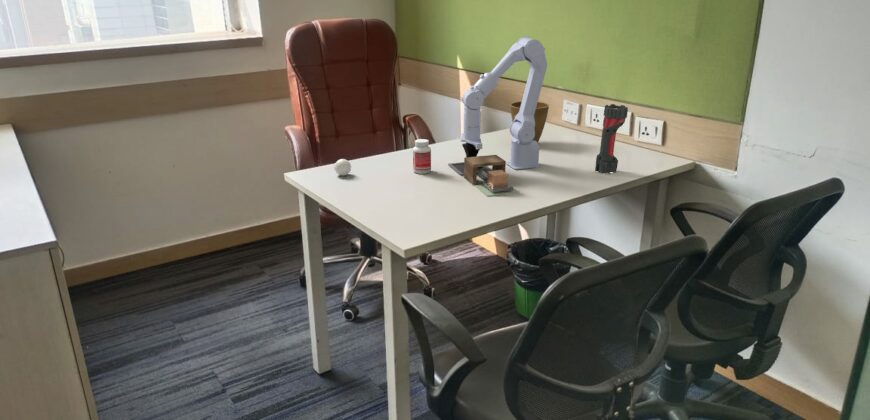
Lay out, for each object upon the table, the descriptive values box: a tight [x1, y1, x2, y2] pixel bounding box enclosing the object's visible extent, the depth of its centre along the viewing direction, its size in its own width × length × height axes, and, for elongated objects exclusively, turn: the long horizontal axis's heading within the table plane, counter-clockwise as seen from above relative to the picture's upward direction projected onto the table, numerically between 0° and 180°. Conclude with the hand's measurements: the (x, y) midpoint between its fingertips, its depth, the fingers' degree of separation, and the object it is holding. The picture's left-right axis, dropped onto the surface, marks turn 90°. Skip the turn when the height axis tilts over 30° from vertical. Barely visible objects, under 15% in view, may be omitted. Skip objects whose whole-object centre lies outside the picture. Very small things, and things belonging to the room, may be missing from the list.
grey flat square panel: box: [447, 161, 492, 177], centre depth 226 cm, size 12×13×1 cm
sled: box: [464, 155, 514, 192], centre depth 212 cm, size 7×26×5 cm, turn 19°
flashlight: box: [594, 103, 629, 174], centre depth 219 cm, size 8×8×23 cm
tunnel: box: [463, 154, 507, 186], centre depth 214 cm, size 11×8×7 cm
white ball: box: [334, 158, 352, 177], centre depth 220 cm, size 8×6×6 cm
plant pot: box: [509, 100, 550, 144], centre depth 253 cm, size 15×15×16 cm
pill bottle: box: [412, 138, 432, 175], centre depth 221 cm, size 6×6×11 cm
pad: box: [474, 184, 520, 197], centre depth 206 cm, size 11×10×1 cm
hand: (471, 164), depth 225 cm, fingers closed
